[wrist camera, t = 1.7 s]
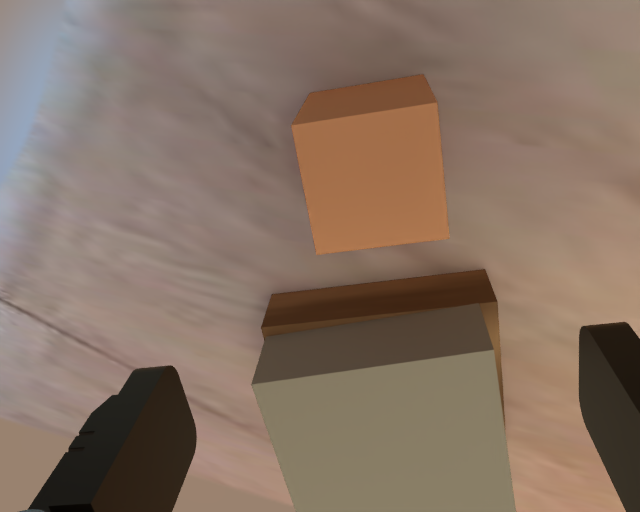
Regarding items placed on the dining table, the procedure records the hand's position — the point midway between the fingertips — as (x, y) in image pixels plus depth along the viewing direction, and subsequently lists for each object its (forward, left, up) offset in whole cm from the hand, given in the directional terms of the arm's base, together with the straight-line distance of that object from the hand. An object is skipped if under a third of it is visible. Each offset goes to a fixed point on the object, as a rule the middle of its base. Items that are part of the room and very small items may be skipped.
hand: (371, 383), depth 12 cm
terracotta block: (0, 0, -20) cm, 20 cm away
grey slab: (+14, -1, -16) cm, 21 cm away
